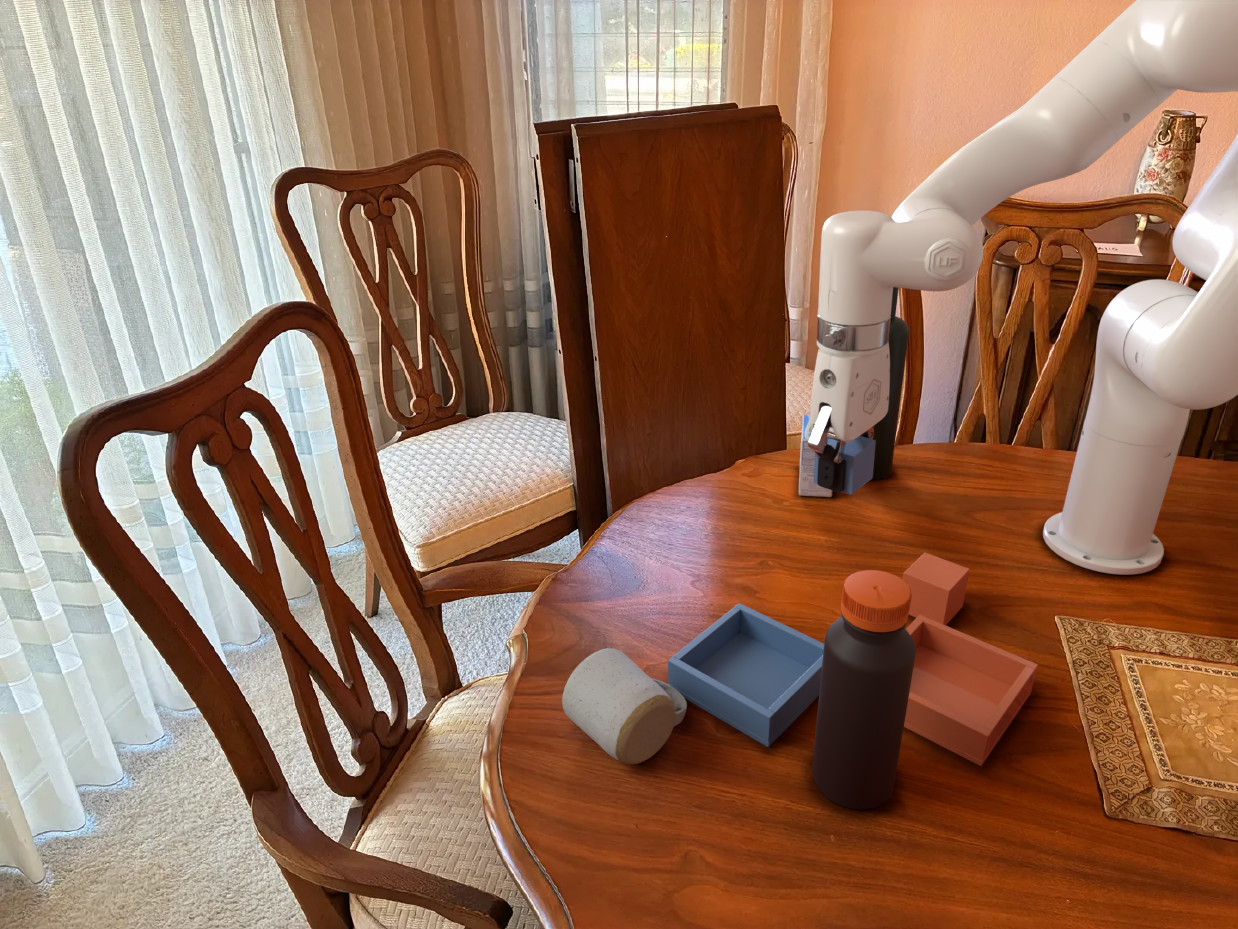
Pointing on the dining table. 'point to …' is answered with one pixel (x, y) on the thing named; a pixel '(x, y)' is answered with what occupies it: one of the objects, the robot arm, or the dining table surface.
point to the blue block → (854, 463)
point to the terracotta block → (936, 588)
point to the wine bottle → (891, 395)
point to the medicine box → (809, 464)
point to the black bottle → (864, 691)
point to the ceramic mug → (622, 706)
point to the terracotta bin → (964, 689)
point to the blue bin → (750, 672)
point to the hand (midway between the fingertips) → (843, 477)
